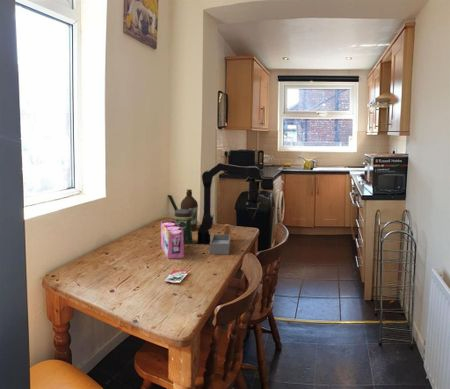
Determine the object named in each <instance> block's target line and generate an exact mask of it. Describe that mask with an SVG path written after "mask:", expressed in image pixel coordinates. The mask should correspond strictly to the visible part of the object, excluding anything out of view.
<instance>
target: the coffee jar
mask: <svg viewBox="0 0 450 389" xmlns="http://www.w3.org/2000/svg"><path fill="white" fill-rule="evenodd" d="M173 217H174V221H175V222H176V223H177V224H178V225H179V226H180V227H181V228H182V229H183V244H185V245H187V244H190V243H192V242H193V234H192V233H193V231H191V219H192V212H191V210H187V209H181V208H180V209H179V208H178V209H176V210H175V211H174V216H173Z"/></svg>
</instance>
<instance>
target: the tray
mask: <svg viewBox="0 0 450 389" xmlns="http://www.w3.org/2000/svg"><path fill="white" fill-rule="evenodd" d="M230 248H231V241H230V235H224V234H212V235H211V238H210V242H209V255H229V254H230Z"/></svg>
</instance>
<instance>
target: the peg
mask: <svg viewBox="0 0 450 389" xmlns="http://www.w3.org/2000/svg"><path fill="white" fill-rule="evenodd" d="M223 227H224V230H223V235H230V242H232V240H231V239H232V234H231V233H232V224H227V223H226V224H224V226H223Z"/></svg>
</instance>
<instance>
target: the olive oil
mask: <svg viewBox="0 0 450 389" xmlns="http://www.w3.org/2000/svg"><path fill="white" fill-rule="evenodd" d="M198 207H199V204H198V201H197V199H195V198H194V197H193V190H192V189H191V188H190V189H186V195H185V197H184V198H183V199H182V200H181V201H180V209H187V210H191V212H192V219H191V231H192V232H195V231H198V210H199V208H198Z"/></svg>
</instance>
